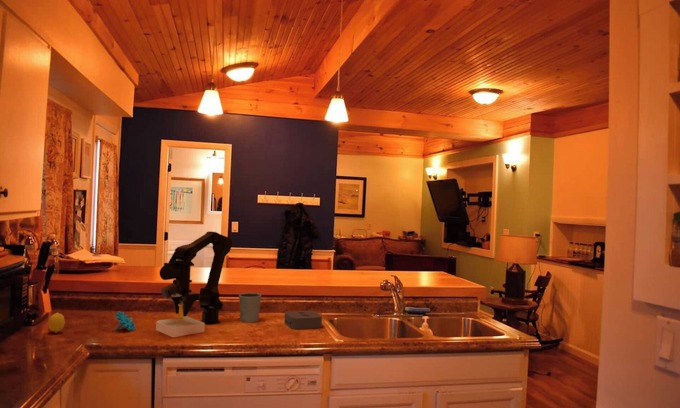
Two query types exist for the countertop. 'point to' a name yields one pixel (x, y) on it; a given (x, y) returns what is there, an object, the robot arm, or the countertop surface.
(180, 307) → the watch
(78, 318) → the countertop surface
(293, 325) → the streaming box
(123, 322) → the teal lumpy piece
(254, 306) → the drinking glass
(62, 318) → the lemon
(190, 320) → the stand
